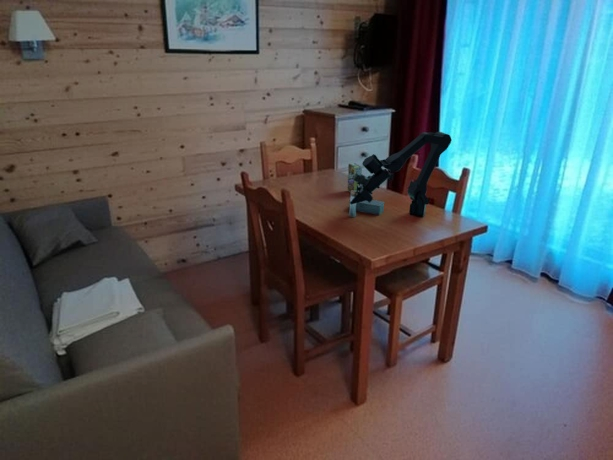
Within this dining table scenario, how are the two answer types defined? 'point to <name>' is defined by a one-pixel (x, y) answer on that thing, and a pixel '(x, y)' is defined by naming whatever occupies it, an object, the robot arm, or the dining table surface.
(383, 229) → the dining table surface
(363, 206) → the bar
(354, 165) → the candy box
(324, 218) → the dining table surface
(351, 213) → the steel pin
